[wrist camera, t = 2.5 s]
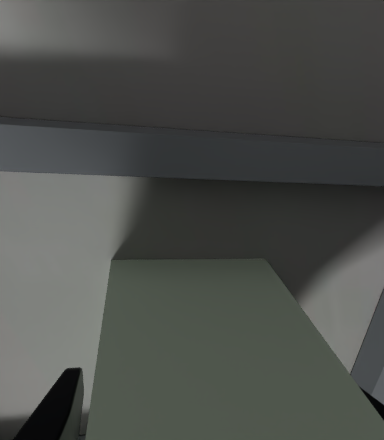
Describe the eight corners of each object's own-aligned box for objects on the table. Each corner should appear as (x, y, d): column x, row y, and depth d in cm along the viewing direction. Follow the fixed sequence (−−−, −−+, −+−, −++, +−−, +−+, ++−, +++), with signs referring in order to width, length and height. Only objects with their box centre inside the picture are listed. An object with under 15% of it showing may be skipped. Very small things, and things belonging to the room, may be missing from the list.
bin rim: (465, 148, 10) (506, 156, 9) (350, 421, 15) (367, 447, 14) (-174, 105, 7) (-232, 109, 6) (-48, 466, 12) (-65, 504, 11)
